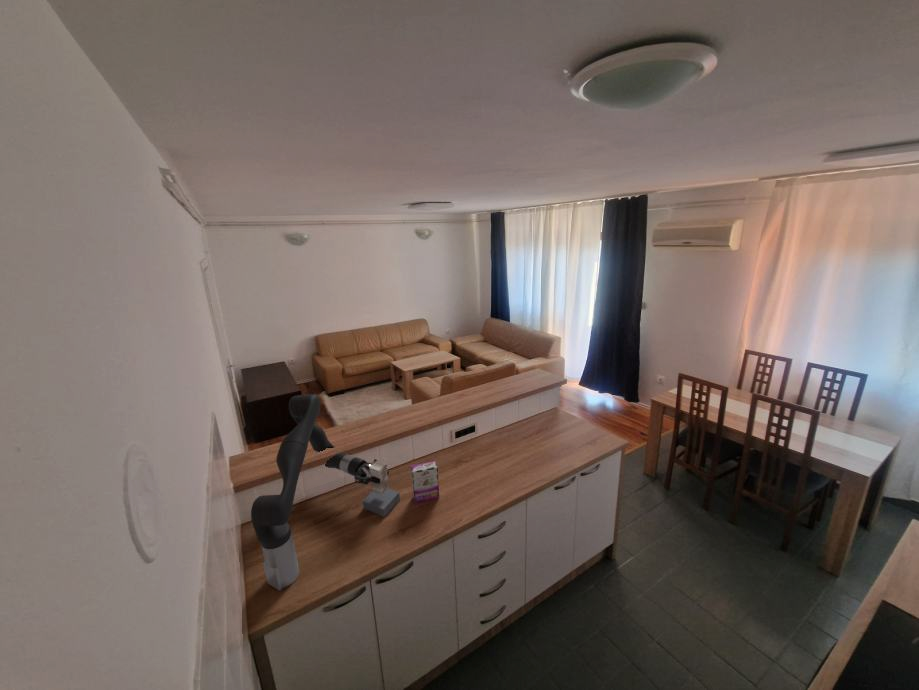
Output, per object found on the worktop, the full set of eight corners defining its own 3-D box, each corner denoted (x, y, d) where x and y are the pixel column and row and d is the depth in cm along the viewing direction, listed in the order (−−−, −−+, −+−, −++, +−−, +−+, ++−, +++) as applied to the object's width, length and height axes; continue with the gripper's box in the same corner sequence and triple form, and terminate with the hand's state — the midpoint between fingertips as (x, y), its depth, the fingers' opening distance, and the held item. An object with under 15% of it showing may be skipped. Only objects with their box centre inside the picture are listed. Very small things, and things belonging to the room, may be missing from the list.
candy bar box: (437, 490, 165) (435, 460, 160) (439, 498, 160) (438, 467, 155) (412, 495, 162) (410, 465, 157) (414, 503, 158) (412, 472, 152)
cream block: (381, 494, 152) (379, 470, 148) (371, 490, 154) (369, 467, 150) (388, 486, 156) (386, 463, 152) (379, 483, 158) (377, 460, 154)
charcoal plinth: (384, 517, 151) (383, 509, 149) (363, 508, 155) (362, 500, 154) (399, 499, 160) (399, 492, 159) (379, 492, 165) (379, 484, 163)
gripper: (340, 468, 152) (372, 480, 144) (363, 449, 164) (393, 460, 156) (342, 482, 154) (373, 495, 147) (364, 463, 166) (395, 474, 159)
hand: (384, 477), depth 152 cm, fingers closed on cream block, 5 cm apart
